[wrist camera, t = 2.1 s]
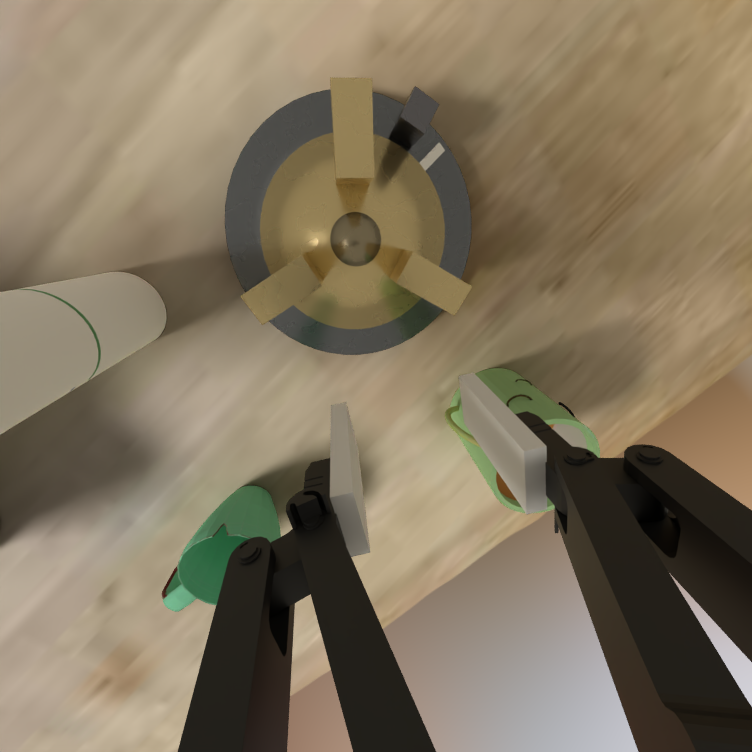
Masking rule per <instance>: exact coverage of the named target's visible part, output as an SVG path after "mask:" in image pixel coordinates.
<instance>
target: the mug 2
mask: <svg viewBox="0 0 752 752" xmlns="http://www.w3.org/2000/svg"><path fill="white" fill-rule="evenodd" d="M475 375H476V376H477V377H478V378H479V379H480V380H481V381H482V382H483V383H484V384H485V385H486V386H487V387H488V388H489V389H490V390H491V391H492V392H493V393H494V394H495V395H496V396H497V397H498V398H499V399H500V400H501V401H502V402H503V403H504V404H505V405H506V406H507V407H508V408H509V409H510V410H511V411H512V412H513V413H514V414H517V413H521V412H526V411H528V412H530V413H533V414H535V415H537V416H539V417H540V418H541V419H542V420H543V421H544V422H546V424H548V425H549V426H550V427H551V428H552V429H553V430H554V431H556V432H557V433H558V434H559V435H560V436H561V437H562V438H563V439H564V440H566V441H567V442H568V443H569V444H570V445H571V446H572V447H581V448H585V449H588V450H590V451H592V452H593V453H594V454H595V455H596V456H597V457H598V458H600V449H599V444H598V441H597V439H596V437H595V435H594V434H593V433H592V431H591V430H590V429H589V428H588V427H586V426H585V425H584V424H582V423H581V422H580V421H578V420H577V419H576V418H575V416H574V414H573V413H572V412H571V410H570V409H569V408H568V407H567V406H565V405H564V404H563V403H561V402H559V405H562V406H563V407H564V408H566V409H567V410H568V411H569V412H570V414H569V413H568V412H567V411H566V410H564V409H563V408H562V407H560V406H559V405H558V404H556V403H555V402H554V401H553V400H551V399H550V398H549V397H547V396H546V395H545V394H543V393H542V392H541V391H540V390H538V389H537V388H536V387H534V386H533V385H532V384H531V383H530V382H529V381H527V380H525V379H524V378H523V377H521V376H520V375H519V374H517V373H516V372H513V371H511V370H508V369H504V368H492V369H486V370H483V371H480V372H478V373H476V374H475ZM445 419H446V421H447V423H448V425H449V426H450V427H451V428H452V429H453V430H454V431H455V432H456V433H457V434H458V436H459V438H460V439H461V441H462V442H463V444H464V446H465V447H466V449H467V451H468V452H469V454H470V456H471V457H472V459H473V460H474V462H475V464H476V465H477V467H478V469H479V470H480V472H481V473H482V475H483V477H484V478H485V480H486V482H487V483H488V485H489V487H490V488H491V490H492V491H493V493H494V495H495V496H496V498H497V499H498V500H499V501H500V502H501V503H502V504H503V505H504V506H506V507H507V508H509V509H512V510H514V511H517V512H522V513H525V511H524V510H523V508H522V507H521V505H520V504H519V502H518V501H517V500H516V498H515V497H514V495H513V494H512V492H511V491H510V489H509V488H508V486H507V485H506V483H505V482H504V481H503V479H502V478H501V476H500V475H499V473H498V472H497V470H496V469H495V467H494V466H493V464H492V463H491V462H490V460H489V459H488V457H487V456H486V454H485V453H484V451H483V450H482V448H481V447H480V445H479V444H478V443H477V441H476V440H475V438H474V437H473V435H472V434H471V432H470V431H469V429H468V428H467V426H466V425H465V424H464V419H463V410H462V401H461V393H460V387H459V388H458V389H457V391H456V392H455V394H454V396H453V398H452V401H451V404H450V408H449V409H447V411H446V412H445ZM552 509H555V506H554V504H553V503H552V502H551V501H550V500H549V498H548V497H547V510H543V511H539V512H535V513H540V512H545V511H549V510H552Z"/></svg>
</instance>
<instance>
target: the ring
mask: <svg viewBox="0 0 752 752" xmlns="http://www.w3.org/2000/svg"><path fill="white" fill-rule="evenodd" d="M372 100H373V134H376V135H379V136H381V137H384V138H386V139H389V140H391V141H392V142H394V143H396V144H397V145H399V146H401V147H402V148H403V149H405V150H406V151H407V152H408V153H410V154H411V155H412V156H413V157H414V158H415V159H416V160H417V161H418V162H419V163H420V164H421V166H422V167H423V169H424V170H425V171H426V173H427V174H428V175H429V177H430V179H431V181H432V183H433V185H434V186H435V189H436V191H437V194H438V196H439V199H440V203H441V206H442V210H443V216H444V224H445V239H444V249H443V254H442V258H441V262H440V265H439V267H440V268H442V269H443V270H445V271H447V272H448V273H450V274H452V275H453V276H455V277H457V278H459V279H460V280H461V277H462V274H463V272H464V269H465V266H466V262H467V258H468V254H469V248H470V241H471V210H470V201H469V197H468V192H467V188H466V184H465V181H464V178H463V176H462V173H461V170H460V168H459V166H458V164H457V162H456V160H455V158H454V156H453V154H452V152H451V150H450V149H449V148H448V146H447V145H446V143H445V142H444V140H443V139H442V137H441V136H440V135H439V134H438V133H437V132H436V131H435V130H434V128H433V127H432V126H431V125H430V122H431V120H432V118H433V116H434V114H435V112H436V110H437V108H438V106H439V104H438V103H437V102H436V101H434V100H433V99H432V98H430V97H429V96H428V95H426V94H425V93H424V92H422V91H421V90H420V89H418V88H417V87H416V86H415V87H414V89H413V91H412V92H411V94H410V96H409V98H408V100H407V101H406V103H405V105H403V104H402V103H400V102H398V101H396V100H393V99H391V98H389V97H386V96H384V95H381V94H377V93H373V92H372ZM329 133H333V128H332V111H331V90H325V91H321V92H316V93H312V94H309V95H306V96H304V97H302V98H299V99H297V100H294V101H292V102H291V103H289V104H287V105H286V106H284V107H282V108H281V109H279V110H278V111H276V112H275V113H274V114H273V115H272V116H270V117H269V118H268V119H267V120H266V121H265V122H263V123H262V125H261V126H260V127H259V128H258V129H257V130H256V132H255V133H254V134H253V135H252V136H251V138H250V139H249V141H248V142H247V144H246V145H245V147H244V149H243V150H242V152H241V154H240V156H239V158H238V160H237V163H236V165H235V167H234V169H233V172H232V176H231V179H230V183H229V186H228V191H227V198H226V205H225V230H226V239H227V245H228V249H229V254H230V258H231V261H232V264H233V267H234V269H235V272H236V275H237V277H238V279H239V281H240V283H241V285H242V287H243V289H244V291H245V292H247V291H248V290H250V289H251V288H253V287H254V286H256V285H257V284H259V283H260V282H262V281H263V280H265V279H266V278H268V277H269V276H271V274H270V272H269V270H268V267H267V264H266V261H265V258H264V255H263V250H262V245H261V237H260V217H261V211H262V205H263V201H264V198H265V194H266V191H267V189H268V186H269V184H270V182H271V180H272V178H273V176H274V175H275V173H276V172H277V170H278V169H279V167H280V166H281V165H282V163H283V162H284V161H285V160H286V159H287V158H288V157H289V156H290V155H291V154H292V153H293V152H294V151H296V150H297V149H298V148H299V147H300V146H302V145H304V144H305V143H307V142H309V141H310V140H312V139H315V138H317V137H320V136H322V135H325V134H329ZM442 310H443V309H441V308H440V307H438V306H436V305H434V304H432V303H431V302H429V301H427V300H425V299H424V298H422V297H421V299H420V300H419V301H418V302H417V303H416V304H415V305H414V306H413V307H412V308H411V309H409V310H408V311H407V312H405V313H404V314H403V315H401V316H400V317H398V318H396V319H394V320H392V321H390V322H388V323H385V324H383V325H380V326H376V327H372V328H365V329H343V328H337V327H333V326H329V325H326V324H323V323H321V322H319V321H316V320H314V319H313V318H311V317H309V316H307V315H306V314H304V313H303V312H301V311H300V310H299V309H297V308H296V307H295V306H294V305H293V306H291V307H290V308H288V309H287V310H285V311H283V312H282V313H280V314H279V315H277V316H276V317H274V318H273V319H271V320H270V321H269V322H271V323H272V324H273V325H274V326H275V327H276V328H277V329H279V330H280V331H282V332H283V333H284V334H286V335H287V336H289V337H291V338H292V339H294V340H296V341H298V342H300V343H302V344H304V345H307V346H309V347H312V348H314V349H317V350H321V351H325V352H329V353H336V354H344V355H359V354H367V353H374V352H378V351H382V350H386V349H388V348H391V347H394V346H396V345H399V344H401V343H403V342H404V341H406V340H408V339H410V338H412V337H413V336H415V335H416V334H417V333H419V332H420V331H422V330H423V329H424V328H425V327H427V326H428V325H429V324H430V323H431V322H432V321H433V320H434V319H435V318H436V317H437V316H438V315H439V313H440V312H441V311H442Z"/></svg>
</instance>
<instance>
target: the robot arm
mask: <svg viewBox="0 0 752 752" xmlns="http://www.w3.org/2000/svg"><path fill="white" fill-rule="evenodd" d="M459 384H460V393H461V401H462V410H463V419H464V424H465V425H466V426H467V428H468V429H469V431H470V432H471V434H472V435H473V437H474V438H475V440H476V441H477V443H478V444H479V445H480V447H481V448H482V450H483V451H484V453H485V454H486V456H487V457H488V459H489V460H490V462H491V463H492V464H493V466H494V467H495V469H496V470H497V472H498V473H499V475H500V476H501V478H502V479H503V481H504V482H505V483H506V485H507V486H508V488H509V489H510V491H511V492H512V494H513V495H514V497H515V498H516V500H517V501H518V502H519V504H520V505H521V507H522V508H523V510H524V511H525V513H526V514H531V513H535V512H539V511H543V510H547V497H548V498H549V500H550V501H551V502H552V503H553V504H554V506H555V533H558V528H559V529H560V532H561V535H562V538H563V541H564V544H565V546H566V549H567V552H568V555H569V558H570V560H571V563H572V566H573V569H574V572H575V575H576V577H577V580H578V583H579V586H580V588H581V591H582V594H583V597H584V600H585V602H586V605H587V608H588V611H589V613H590V617H591V619H592V622H593V625H594V628H595V631H596V633H597V636H598V639H599V642H600V645H601V648H602V650H603V653H604V656H605V659H606V662H607V664H608V667H609V670H610V673H611V676H612V678H613V681H614V684H615V687H616V690H617V692H618V695H619V698H620V701H621V703H622V707H623V709H624V712H625V715H626V718H627V720H628V723H629V726H630V729H631V732H632V735H633V737H634V740H635V743H636V745H637V748H638V751H639V752H752V707H751V705H750V704H749V702H748V701H747V699H746V698H745V696H744V694H743V693H742V691H741V689H740V688H739V686H738V685H737V683H736V681H735V680H734V678H733V676H732V675H731V673H730V672H729V670H728V668H727V667H726V665H725V663H724V662H723V660H722V659H721V657H720V655H719V654H718V652H717V650H716V649H715V647H714V645H713V644H712V642H711V641H710V639H709V637H708V636H707V634H706V632H705V631H704V629H703V628H702V626H701V624H700V623H699V621H698V619H697V618H696V616H695V615H694V613H693V611H692V610H691V608H690V606H689V605H688V603H687V601H686V600H685V598H684V597H683V595H682V594H681V592H680V590H679V588H678V587H677V585H676V584H675V582H674V580H673V579H672V577H671V575H672V576H673V577H674V578H675V579H676V580H677V581H678V583H679V584H680V585H681V586H682V587H683V588H684V589H685V590H686V591H687V592H688V593H689V594H690V595H691V597H693V599H694V600H695V601H696V602H697V603H698V604H699V605H700V606H701V608H702V609H703V610H704V611H705V612H706V613H707V614H708V615H709V616H710V617H711V618H712V619H713V621H714V622H715V623H716V624H717V625H718V626H719V627H720V628H721V629H722V630H723V631H724V632H725V634H727V636H728V637H729V638H730V639H731V640H732V641H733V642H734V643H735V644H736V646H737V647H738V648H739V649H740V650H741V651H742V652H743V653H744V654H745V655H746V656H747V658H748V659H750V661H751V662H752V510H750V509H749V508H747V507H746V506H745V505H743V504H742V503H740V502H739V501H737V500H736V499H734V498H733V497H732V496H730V495H729V494H728V493H726V492H725V491H723V490H722V489H721V488H719V487H718V486H716V485H715V484H713V483H712V482H711V481H709V480H708V479H706V478H705V477H703V476H702V475H701V474H699V473H698V472H697V471H695V470H694V469H692V468H691V467H689V466H688V465H687V464H685V463H684V462H682V461H681V460H680V459H678V458H677V457H675V456H674V455H673V454H671V453H670V452H668V451H666V450H664V449H662V448H659V447H655V446H652V445H633V446H630V447H628V448H627V449H626V450H625V452H624V458H598V457H597V456H596V455H595V454H594V453H593V452H592V451H590V450H588V449H585V448H581V447H572V446H571V445H570V444H569V443H568V442H567V441H566V440H564V439H563V438H562V437H561V436H560V435H559V434H558V433H557V432H556V431H554V430H553V429H552V428H551V427H550V426H549V425H548V424H546V422H544V421H543V420H542V419H541V418H540V417H539V416H537V415H535V414H533V413H530V412H528V411H526V412H521V413H517V414H514V413H513V412H512V411H511V410H510V409H509V408H508V407H507V406H506V405H505V404H504V403H503V402H502V401H501V400H500V399H499V398H498V397H497V396H496V395H495V394H494V393H493V392H492V391H491V390H490V389H489V388H488V387H487V386H486V385H485V384H484V383H483V382H482V381H481V380H480V379H479V378H478V377H477V376H476V375H475V374H474V373H469V374H465V375H460V376H459ZM286 512H287V515H288V518H289V520H290V523H291V525H292V528H293V529H292V530H291V531H290V532H289V533H287V534H286V535H284V536H282V537H280V538H278V539H276V540H274V541H272V542H270V541H269V540H268V539H267V538H264V537H261V536H260V537H253V538H250V539H248V540H245V541H244V542H243V543H241V544H240V545H238V546H237V547H236V548H235V550H234V551H233V552H232V553H231V555H230V558H229V560H228V563H227V567H226V571H225V575H224V579H223V582H222V586H221V590H220V594H219V598H218V601H217V605H216V609H215V613H214V616H213V620H212V624H211V628H210V632H209V635H208V639H207V643H206V647H205V650H204V654H203V658H202V662H201V666H200V669H199V673H198V677H197V681H196V685H195V688H194V692H193V696H192V700H191V703H190V707H189V711H188V715H187V719H186V722H185V726H184V730H183V734H182V738H181V741H180V745H179V749H178V752H287V739H288V720H289V701H290V683H291V664H292V645H293V627H294V608H295V603H296V602H298V601H299V600H301V599H303V598H304V597H306V596H308V595H310V594H311V597H312V601H313V604H314V608H315V612H316V615H317V619H318V623H319V627H320V630H321V634H322V638H323V641H324V645H325V649H326V652H327V656H328V660H329V664H330V667H331V671H332V674H333V678H334V682H335V686H336V689H337V693H338V697H339V700H340V704H341V708H342V712H343V715H344V719H345V722H346V726H347V730H348V734H349V737H350V741H351V745H352V749H353V752H436V751H435V748H434V746H433V744H432V742H431V739H430V737H429V734H428V732H427V730H426V728H425V725H424V723H423V721H422V718H421V716H420V714H419V712H418V710H417V707H416V705H415V702H414V700H413V698H412V696H411V693H410V691H409V689H408V687H407V684H406V682H405V680H404V677H403V675H402V673H401V670H400V668H399V666H398V664H397V662H396V659H395V657H394V654H393V652H392V650H391V648H390V645H389V643H388V641H387V639H386V636H385V634H384V632H383V629H382V627H381V625H380V622H379V620H378V618H377V616H376V613H375V611H374V609H373V606H372V604H371V602H370V600H369V597H368V595H367V593H366V590H365V588H364V586H363V584H362V581H361V579H360V577H359V574H358V572H357V570H356V568H355V565H354V563H353V561H352V558H351V557H353V556H357V555H361V554H366V553H370V547H369V538H368V529H367V521H366V512H365V503H364V495H363V486H362V478H361V469H360V460H359V452H358V446H357V442H356V438H355V434H354V430H353V426H352V423H351V419H350V415H349V411H348V407H347V403H346V402H343V403H339V404H334V405H331V444H330V458H329V459H325V460H320V461H316V462H312V463H311V464H310V466H309V467H308V469H307V470H306V473H305V482H304V490H302V491H300V492H298V493H297V494H295V495H294V496H293V497H292V498H291V499H290V500H289V501H288V503H287V505H286ZM669 573H670V574H671V575H670V574H669Z"/></svg>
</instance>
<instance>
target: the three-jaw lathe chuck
mask: <svg viewBox="0 0 752 752" xmlns="http://www.w3.org/2000/svg"><path fill="white" fill-rule="evenodd" d="M330 86H331V111H332V128H333V133H329V134H325V135H322V136H320V137H317V138H315V139H312V140H310V141H309V142H307V143H305V144H304V145H302V146H300V147H299V148H298V149H297V150H296V151H294V152H293V153H292V154H291V155H290V156H289V157H288V158H287V159H286V160H285V161H284V162H283V163H282V165H281V166H280V167H279V169H278V170H277V172H276V173H275V175H274V176H273V178H272V180H271V182H270V184H269V186H268V189H267V191H266V194H265V198H264V201H263V205H262V211H261V217H260V237H261V245H262V250H263V255H264V258H265V261H266V264H267V267H268V270H269V272H270V274H271V276H269V277H268V278H266V279H265V280H263V281H262V282H260V283H259V284H257V285H256V286H254V287H253V288H251V289H250V290H248V291H247V292H246V293H244V294H243V295H241V296H240V297H241V298H242V299H243V301H244V302H245V303H246V305H247V306H248V307H249V308H250V310H251V311H252V312H253V314H254V315H255V316H256V317H257V319H258V320H259V321H260V323H261V324H262V325H264V324H265V323H267V322H268V321H270V320H271V319H273V318H274V317H276V316H277V315H279V314H280V313H282V312H283V311H285V310H287V309H288V308H290V307H291V306H293V305H294V306H295V307H296V308H297V309H299V310H300V311H301V312H303V313H304V314H306V315H307V316H309V317H311V318H313V319H314V320H316V321H319V322H321V323H323V324H326V325H329V326H333V327H337V328H343V329H365V328H372V327H376V326H380V325H383V324H385V323H388V322H390V321H392V320H394V319H396V318H398V317H400V316H401V315H403V314H404V313H405V312H407V311H408V310H409V309H411V308H412V307H413V306H414V305H415V304H416V303H417V302H418V301H419V300H420V299H421V297H422V298H424V299H425V300H427V301H429V302H431V303H432V304H434V305H436V306H438V307H440V308H441V309H443V310H445V311H447V312H449V313H450V314H452V315H454V316H455V314H456V313H457V311H458V309H459V308H460V306H461V304H462V303H463V301H464V300H465V298H466V296H467V295H468V293H469V291H470V290H471V288H472V286H470V285H469V284H467V283H465V282H464V281H462V280H460V279H459V278H457V277H455V276H453V275H452V274H450V273H448V272H447V271H445V270H443V269H442V268H440V267H439V265H440V262H441V258H442V254H443V249H444V239H445V224H444V216H443V210H442V206H441V203H440V199H439V196H438V194H437V191H436V189H435V186H434V185H433V183H432V181H431V179H430V177H429V175H428V174H427V173H426V171H425V170H424V169H423V167H422V166H421V164H420V163H419V162H418V161H417V160H416V159H415V158H414V157H413V156H412V155H411V154H410V153H408V152H407V151H406V150H405V149H403V148H402V147H401V146H399V145H397V144H396V143H394V142H392V141H391V140H389V139H386V138H384V137H381V136H379V135H376V134H373V100H372V78H330Z"/></svg>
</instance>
